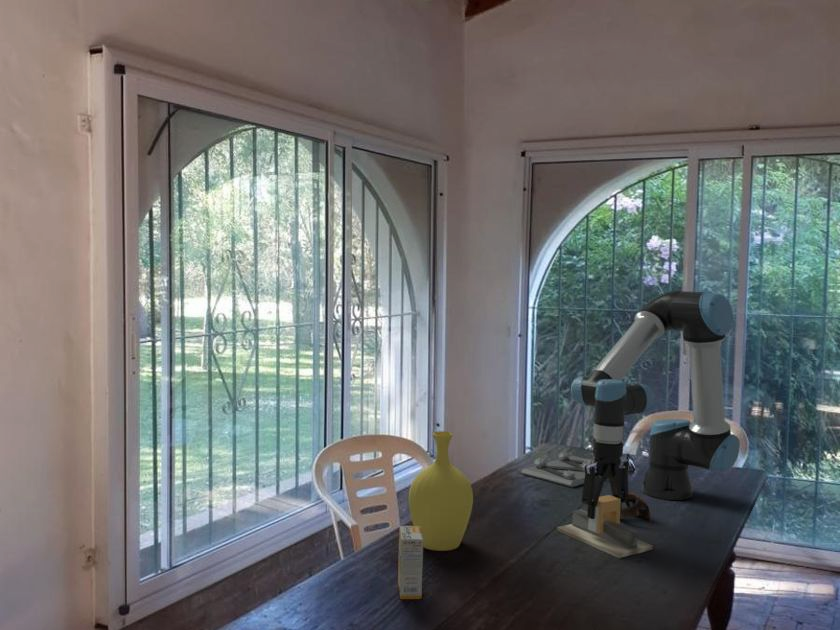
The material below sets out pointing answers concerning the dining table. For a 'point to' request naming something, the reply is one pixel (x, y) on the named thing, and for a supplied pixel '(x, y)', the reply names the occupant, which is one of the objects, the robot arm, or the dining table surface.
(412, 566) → the supplement box
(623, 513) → the pottery mug
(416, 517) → the vase
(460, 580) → the dining table surface
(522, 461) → the dining table surface
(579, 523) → the rail block
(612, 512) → the clip
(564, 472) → the decorative plate
